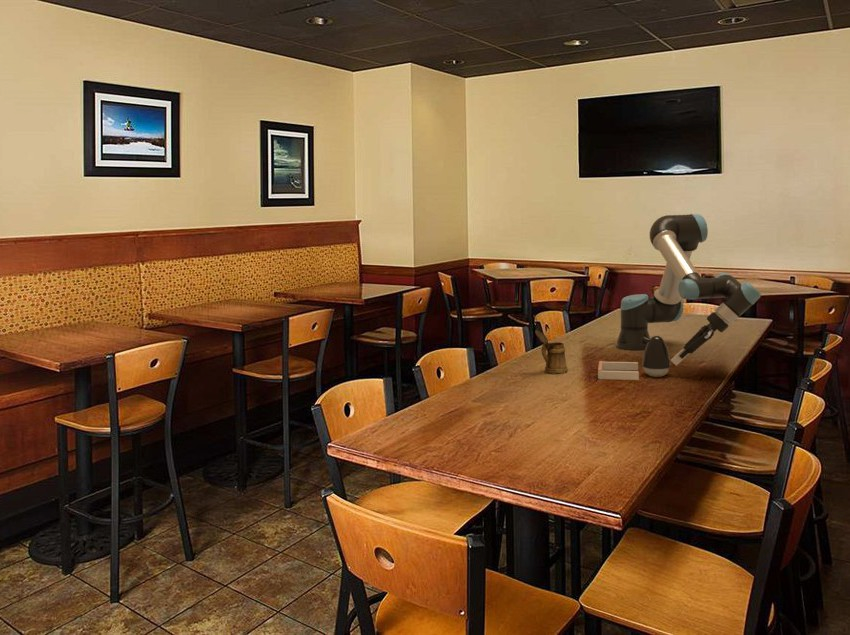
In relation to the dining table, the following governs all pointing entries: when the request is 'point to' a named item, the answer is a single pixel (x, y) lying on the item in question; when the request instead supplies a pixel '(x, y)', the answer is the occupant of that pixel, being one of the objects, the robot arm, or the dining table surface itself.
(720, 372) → the dining table surface
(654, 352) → the black tall rounded piece
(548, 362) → the wooden mug
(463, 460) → the dining table surface
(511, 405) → the dining table surface
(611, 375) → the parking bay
